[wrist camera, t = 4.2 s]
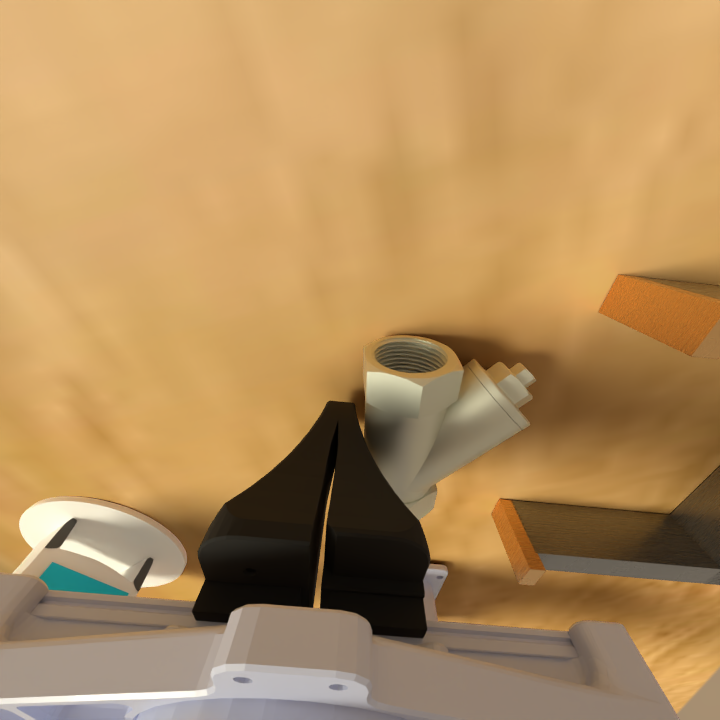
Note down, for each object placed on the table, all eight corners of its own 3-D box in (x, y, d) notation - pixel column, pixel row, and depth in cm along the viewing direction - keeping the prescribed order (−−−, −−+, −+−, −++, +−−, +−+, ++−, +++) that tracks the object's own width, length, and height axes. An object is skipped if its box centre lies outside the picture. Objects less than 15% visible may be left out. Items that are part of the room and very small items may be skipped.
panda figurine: (224, 559, 22) (4, 1097, 9) (142, 597, 25) (-100, 1019, 12) (70, 472, 17) (-841, 1295, 4) (-2, 533, 21) (-620, 1083, 8)
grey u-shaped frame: (677, 530, 18) (745, 603, 15) (491, 514, 18) (518, 584, 15) (924, 308, 11) (1163, 353, 8) (618, 274, 11) (729, 306, 7)
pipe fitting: (515, 331, 12) (362, 333, 12) (579, 380, 9) (369, 383, 9) (476, 459, 16) (360, 463, 16) (511, 527, 13) (364, 533, 13)
